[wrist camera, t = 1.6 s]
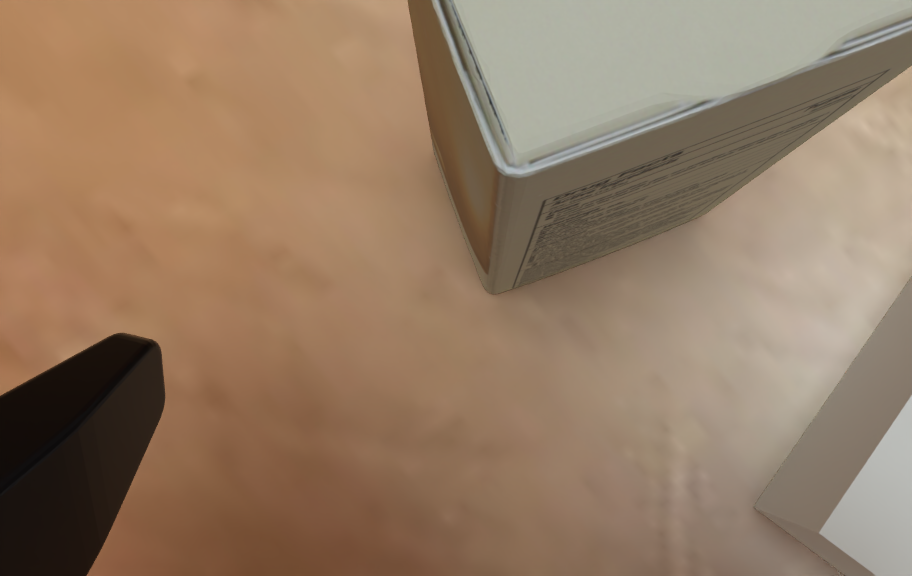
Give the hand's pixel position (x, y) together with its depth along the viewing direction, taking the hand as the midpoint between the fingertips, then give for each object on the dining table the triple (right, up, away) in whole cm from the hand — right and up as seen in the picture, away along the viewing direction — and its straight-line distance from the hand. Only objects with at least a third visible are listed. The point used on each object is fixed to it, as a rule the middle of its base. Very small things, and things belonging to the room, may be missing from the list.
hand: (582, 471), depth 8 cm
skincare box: (+1, +5, +13) cm, 14 cm away
